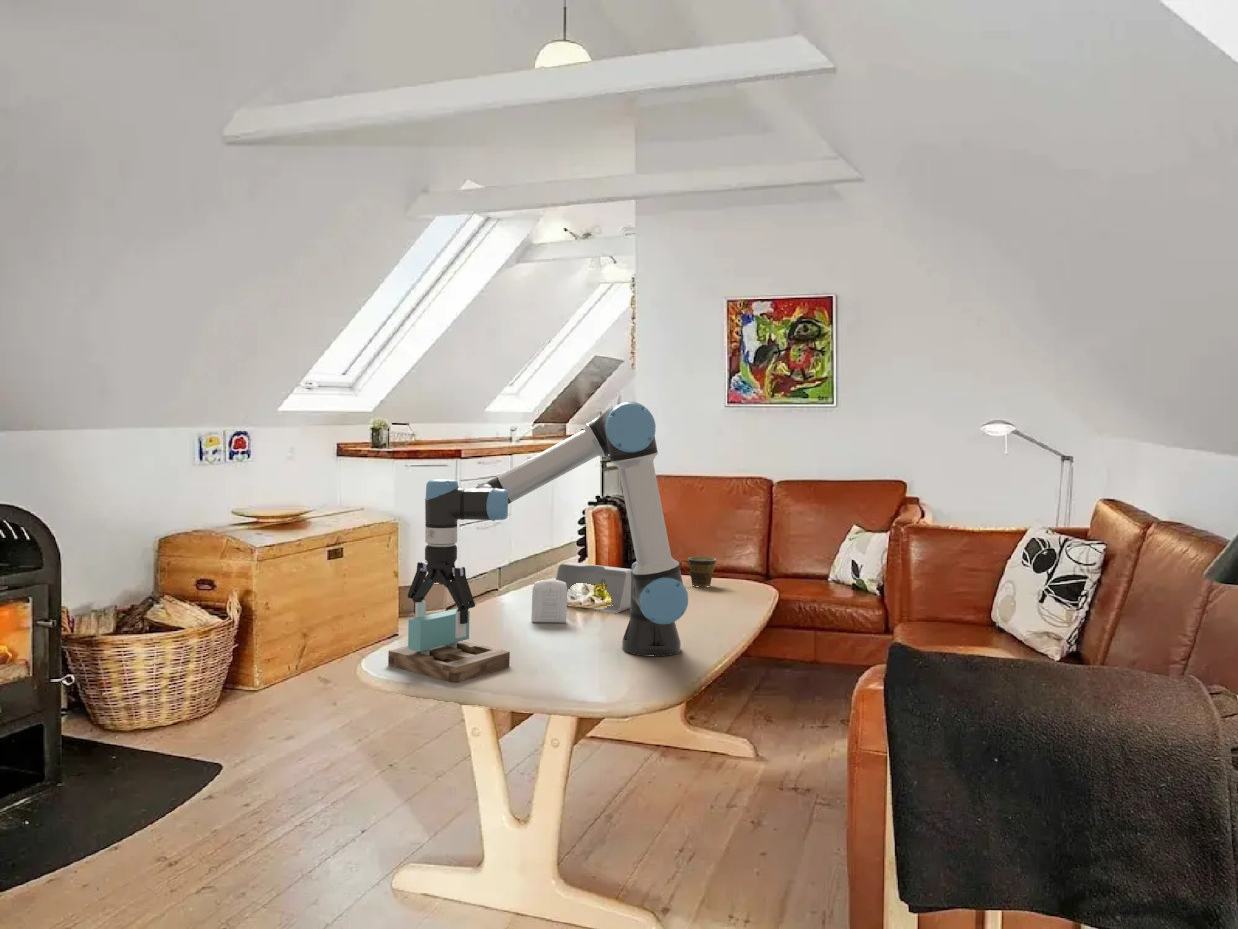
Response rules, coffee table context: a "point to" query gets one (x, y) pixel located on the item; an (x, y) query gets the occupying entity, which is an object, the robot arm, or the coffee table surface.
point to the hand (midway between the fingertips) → (440, 632)
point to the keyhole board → (451, 661)
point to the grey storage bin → (600, 581)
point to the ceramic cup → (700, 570)
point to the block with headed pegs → (434, 631)
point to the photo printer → (549, 601)
